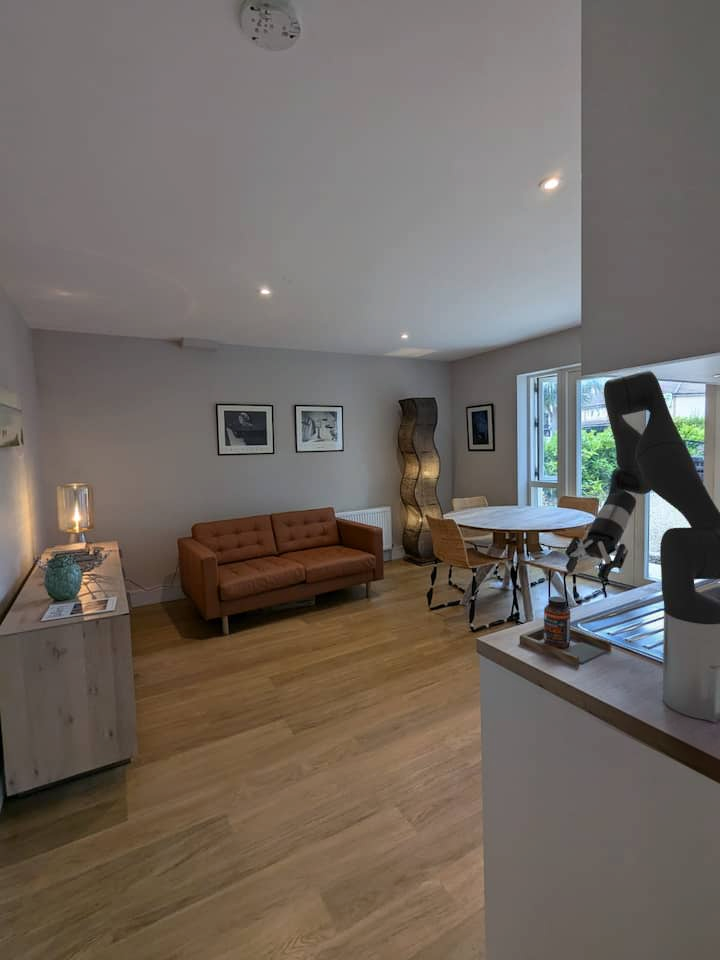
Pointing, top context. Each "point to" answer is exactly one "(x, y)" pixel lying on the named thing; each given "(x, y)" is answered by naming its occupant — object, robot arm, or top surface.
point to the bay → (567, 657)
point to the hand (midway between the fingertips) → (584, 574)
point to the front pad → (585, 651)
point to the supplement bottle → (557, 623)
